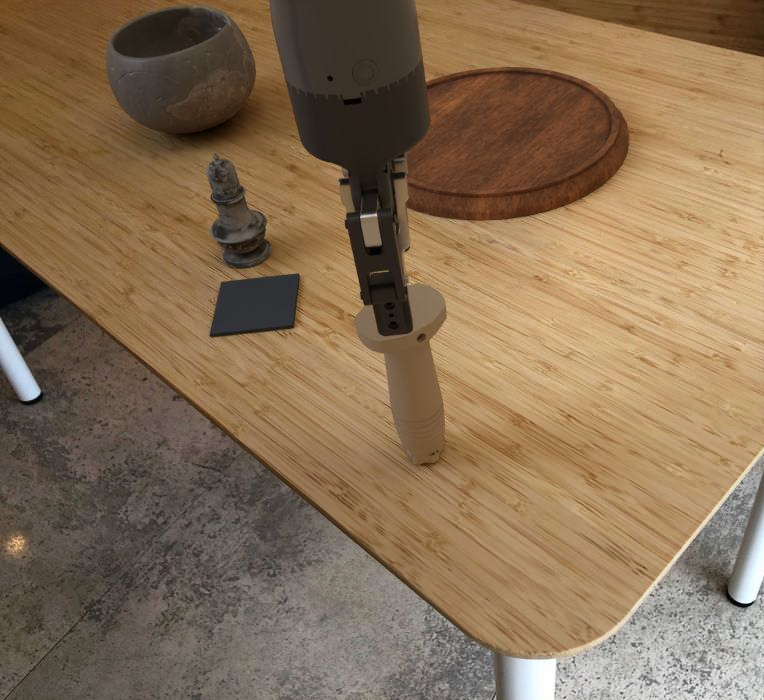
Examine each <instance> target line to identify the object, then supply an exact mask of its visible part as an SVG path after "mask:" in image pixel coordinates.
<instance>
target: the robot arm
mask: <svg viewBox="0 0 764 700" xmlns="http://www.w3.org/2000/svg"><path fill="white" fill-rule="evenodd" d="M268 3H269V10H270V11H269V13H270V21H271V26H272V31H273V36H274V41H275V45H276V48H277V52H278V56H279V61H280V63H281V69H282V73H283V77H284V80H285V84H286V88H287V92H288V96H289V101H290V105H291V109H292V112H293V116H294V121H295V124H296V125H295V126H296V128H297V133H298V137H299V140H300V143H301V145H302V146H303V148H304V149H305V151H306V152H307V153H308V154H310V155H311V156H312V157H314V158H316V159H318V160H320V161H322V162H325V163H329V164H333V165H335V166H338V167H340V168H341V172H342V177H338V189H339V195H340V202H341V204H342V206H344V207H345V210H346V213H345V219H344V228H345V230H347V234H348V237H349V242H350V248H351V252H352V256H353V257H352V258H353V261H354V266H355V271H356V276H357V279H358V284H359V289H360V291H359V297H360V301H362V304H363V307H364V306H368V305H372V306H373V310H374V315H375V320H376V324H377V329H378V333H379V334H380V335H382V336H394V335H403V334H409V333H411V332H412V330H413V319H412V313H411V307H410V302H409V296H408V287H407V285H410V279H409V278H410V277H409V275H408V274H407V270H406V262H405V253H406V252H408V251H410V249H411V241H412V240H411V234H410V223H409V216H408V208H407V207H406V202H407V200H408V198H409V188H408V178H407V173H408V164H407V155H406V152H408V151H409V150H411V149H412V148H414V147H415V146H416V145H418V144H419V143H420V142H421V141H422V140H423V138H424V137H425V136H426V134H427V132H428V130H429V127H430V110H429V102H428V95H427V87H426V82H427V78H426V72H425V64H424V57H423V49H422V41H421V35H420V27H419V19H418V18H419V17H418V10H417V5H416V0H268Z"/></svg>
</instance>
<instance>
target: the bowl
mask: <svg viewBox="0 0 764 700" xmlns="http://www.w3.org/2000/svg"><path fill="white" fill-rule="evenodd" d="M106 47H107V48H106V56H105V57H106V58H105V59H106V60H105V61H106V62H105V63H106V74H107V79H108V82H109V86H110V89H111V91H112V94H113V96H114V98H115V99H116V101H117V104H119V106H120V108H121V109H122V110H123V111H124V113H125V114H127V116H129V118H130V119H132V120H133V121H135V122H136V123H138V124H139V125H142V126H143V127H145V128H147V129H150V130H152V131H155V132H159V133H160V132H161V133H168V134H193V133H199V132H203V131H206V130H209V129H212V128H214V127H216V126H219V125H221V124H223V123H224V122H226V121H228V120H230V119H232V118H233V117H234V116H235V115H237V114H238V112H239V111H240V110H241V109H242V108H243V106H244V105H246V103H247V101H248V100H249V97H250V96H251V94H252V93H253V90H254V88H255V83H256V77H257V68H256V61H255V57H254V54H253V51H252V49H251V47H250V44H249V42H248V40H247V38H246V35H245V34H244V33H243V31H242V30H241V29H240V27H239V26H238V24H237V23H236V22H235V21H234V19H233V18H232V17H231V15H229V14H228V13H226V12H225V11H223V10H220V9H219V8H213V7H210V6H207V5H202V4H200V5H199V4H198V5H188V4H187V5H179V6H170V7H165V8H161V9H156V10H152V11H149V12H147V13H144V14H141V15H139V16H136V17H134V18H132V19H130V20H128V21H126V22H125V23H124V24H122V25H121V26H120V27H118V28H117V29H116V30H115V31H114V32H113V33H112V35H111V36H110V38H109V40H108V44H107V46H106Z"/></svg>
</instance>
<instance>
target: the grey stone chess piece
mask: <svg viewBox="0 0 764 700" xmlns="http://www.w3.org/2000/svg"><path fill="white" fill-rule="evenodd" d="M220 157H221V156H220V155H219V154H218V153H215V152H214V154H213V155H212V159H213V160H212V161H211V162H210V163H208V164H207V166H206V168H205V175H206V178H207V181H208V184H209V186H210V189H211V194H210V198H209V199H210V201H211V202H212V203H213V204H215V207H216V209H217V213H218V216H219V217H218V218H216V219H215V220H214V221H213V223H212V224H211V226H210V228H209V234H210V236H211V238H212V239H214V240H215V242H216V243H217V244H218V245H219V247H221V248H222V249H223V250H224V251H223V252H222V255H221V259H222V261H223V263H224V265H226V266H227V267H230V268H233V269H249V268H253V267H256V266H258V265H260V264H261V263H263V262H265V261H266V260H267V259H268V258H269V257H270V256H271V254H272V253H273V252H272V251H273V246H272V243H271V242H270V241H269V240H267V239H266V238H265V237H266V233H267V232H266V231H267V228H266V227H267V224H268V220H267V216H266V215H265V214H264V213H263V212H261V211H260V210H257V209H251V208H249V206H248V203H247V199H246V193H247V190H246V187H244V186H243V185H242V184H241V183H240V180H239V179H240V178H239V176H238V172H237V169H236V167H235V165H234V163H233V162H232V161H230V160H229V159H226V158H220Z"/></svg>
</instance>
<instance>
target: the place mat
mask: <svg viewBox="0 0 764 700" xmlns="http://www.w3.org/2000/svg"><path fill="white" fill-rule="evenodd" d="M300 278H301V275H300V273H299V272H297V273H296V272H295V273H287V274H279V275H270V276H268V275H267V276H260V277H252V278H241V279H234V280H224V281H220V282H221V283H220V286H219V288H218V289H219V290H218V295H217V299H216V303H215V308H214V311H213V317H212V320H211V321H212V322H211V326H210V330H209V337H210V338H213V337H223V336H224V337H225V336H232V335H241V334H242V335H243V334H250V333H259V332H269V331H276V330H277V331H278V330H286V329H287V330H288V329H294V328H295V320H296V312H297V303H298V295H299V286H300Z"/></svg>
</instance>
